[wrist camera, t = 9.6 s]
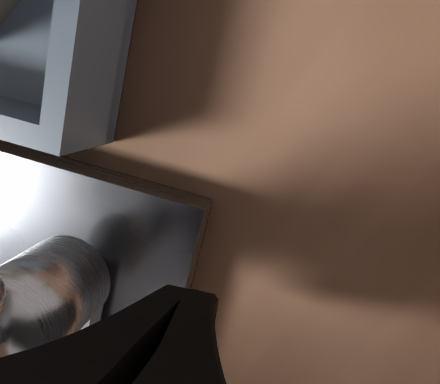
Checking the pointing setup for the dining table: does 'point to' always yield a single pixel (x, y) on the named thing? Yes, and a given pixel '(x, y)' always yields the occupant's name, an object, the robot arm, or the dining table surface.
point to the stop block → (7, 8)
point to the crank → (50, 292)
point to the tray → (63, 72)
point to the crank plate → (102, 220)
